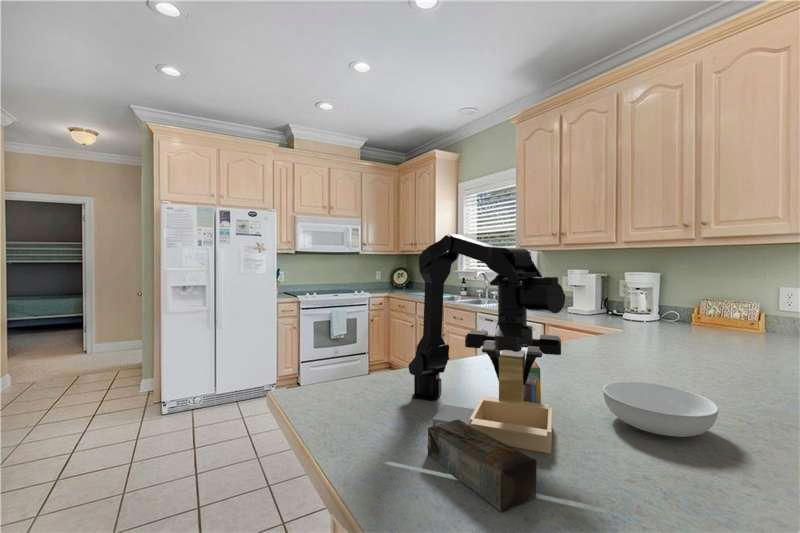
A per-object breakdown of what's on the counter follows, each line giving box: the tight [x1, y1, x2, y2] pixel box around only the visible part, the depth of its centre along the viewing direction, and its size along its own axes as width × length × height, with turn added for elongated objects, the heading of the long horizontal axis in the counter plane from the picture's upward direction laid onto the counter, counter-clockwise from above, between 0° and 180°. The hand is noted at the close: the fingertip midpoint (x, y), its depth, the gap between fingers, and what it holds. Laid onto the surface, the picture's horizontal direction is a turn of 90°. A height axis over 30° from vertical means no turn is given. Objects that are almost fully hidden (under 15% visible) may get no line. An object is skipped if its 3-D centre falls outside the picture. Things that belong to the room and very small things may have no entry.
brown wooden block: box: [498, 349, 526, 405], centre depth 79 cm, size 8×4×9 cm, turn 157°
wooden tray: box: [470, 395, 553, 454], centre depth 79 cm, size 15×16×4 cm
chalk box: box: [523, 358, 542, 404], centre depth 94 cm, size 9×9×15 cm
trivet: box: [432, 404, 475, 426], centre depth 86 cm, size 8×9×2 cm
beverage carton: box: [427, 420, 538, 513], centre depth 65 cm, size 8×19×7 cm, turn 31°
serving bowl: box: [602, 380, 719, 438], centre depth 83 cm, size 21×21×7 cm
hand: (512, 383), depth 79 cm, fingers closed on brown wooden block, 4 cm apart
